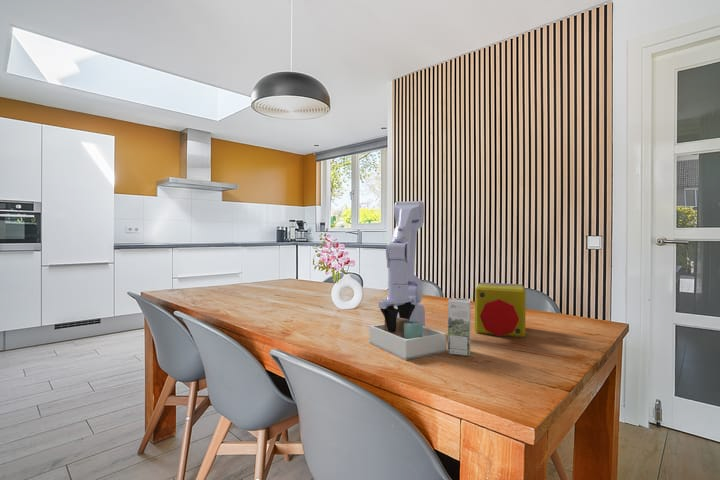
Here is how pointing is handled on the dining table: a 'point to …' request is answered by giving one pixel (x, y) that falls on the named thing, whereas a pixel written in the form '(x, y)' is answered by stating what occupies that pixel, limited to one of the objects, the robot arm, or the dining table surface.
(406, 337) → the teal canister
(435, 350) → the grey tote
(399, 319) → the walnut cube
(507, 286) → the emergency stop button
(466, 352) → the syrup box
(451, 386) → the dining table surface
